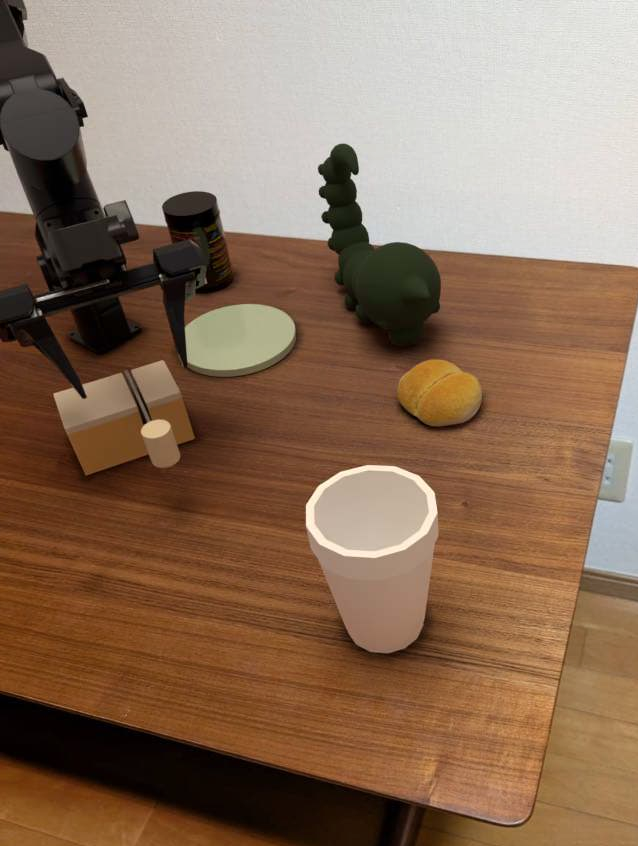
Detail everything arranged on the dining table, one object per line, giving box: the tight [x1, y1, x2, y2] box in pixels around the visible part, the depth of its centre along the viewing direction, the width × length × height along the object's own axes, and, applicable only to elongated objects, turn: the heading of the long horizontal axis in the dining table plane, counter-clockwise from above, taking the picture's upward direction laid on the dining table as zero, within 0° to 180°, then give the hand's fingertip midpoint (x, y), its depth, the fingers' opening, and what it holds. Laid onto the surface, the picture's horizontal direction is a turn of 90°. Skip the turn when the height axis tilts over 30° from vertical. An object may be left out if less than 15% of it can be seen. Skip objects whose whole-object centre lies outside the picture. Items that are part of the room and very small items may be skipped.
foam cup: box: [305, 464, 439, 654], centre depth 64 cm, size 10×9×13 cm
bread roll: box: [396, 358, 483, 427], centre depth 87 cm, size 8×9×4 cm
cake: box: [52, 372, 149, 476], centre depth 84 cm, size 6×7×6 cm
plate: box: [185, 303, 297, 378], centre depth 98 cm, size 14×14×1 cm
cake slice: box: [130, 359, 196, 446], centre depth 86 cm, size 6×4×6 cm, turn 26°
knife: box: [124, 369, 181, 470], centre depth 81 cm, size 17×3×9 cm, turn 26°
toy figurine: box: [317, 143, 442, 347], centre depth 94 cm, size 9×19×25 cm
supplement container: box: [161, 190, 234, 293], centre depth 105 cm, size 7×7×10 cm
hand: (136, 381), depth 74 cm, fingers open, 9 cm apart
